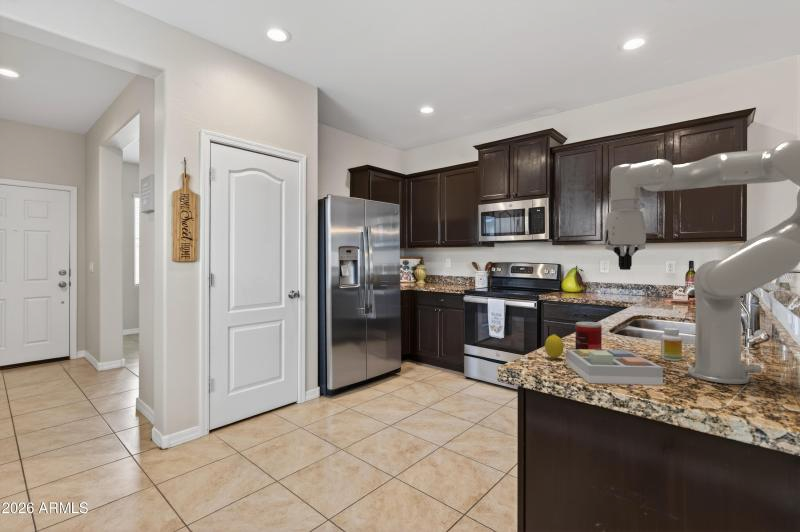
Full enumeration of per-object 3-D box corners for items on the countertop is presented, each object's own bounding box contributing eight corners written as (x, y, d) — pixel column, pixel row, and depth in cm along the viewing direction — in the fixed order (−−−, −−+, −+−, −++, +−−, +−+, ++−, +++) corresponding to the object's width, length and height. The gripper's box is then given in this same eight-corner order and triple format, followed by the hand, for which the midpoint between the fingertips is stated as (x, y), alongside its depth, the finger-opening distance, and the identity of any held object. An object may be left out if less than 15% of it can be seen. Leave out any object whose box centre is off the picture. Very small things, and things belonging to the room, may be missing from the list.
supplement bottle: (686, 361, 120) (686, 330, 119) (668, 361, 120) (668, 330, 119) (673, 356, 125) (674, 327, 125) (657, 356, 125) (657, 327, 125)
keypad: (628, 365, 115) (628, 350, 115) (662, 385, 97) (663, 367, 97) (566, 364, 117) (566, 349, 117) (588, 383, 99) (588, 365, 99)
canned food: (602, 355, 127) (602, 322, 127) (600, 361, 121) (600, 326, 120) (577, 352, 131) (577, 320, 131) (573, 357, 125) (573, 324, 125)
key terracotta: (638, 368, 105) (638, 357, 105) (647, 373, 100) (647, 361, 100) (620, 367, 105) (620, 356, 105) (628, 372, 101) (628, 361, 101)
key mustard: (594, 359, 114) (594, 349, 114) (600, 363, 109) (600, 353, 109) (577, 359, 114) (577, 349, 114) (583, 363, 110) (583, 353, 110)
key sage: (606, 361, 106) (606, 351, 105) (613, 366, 101) (613, 355, 101) (588, 361, 106) (588, 350, 106) (595, 366, 101) (595, 354, 101)
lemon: (565, 361, 120) (565, 336, 120) (546, 360, 121) (546, 335, 121) (561, 357, 126) (561, 332, 125) (543, 356, 127) (543, 332, 127)
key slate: (623, 360, 113) (623, 350, 113) (631, 364, 108) (631, 353, 108) (607, 359, 114) (607, 349, 113) (614, 364, 109) (614, 353, 109)
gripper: (645, 208, 116) (645, 269, 116) (593, 209, 117) (593, 269, 117) (659, 205, 108) (659, 269, 108) (603, 206, 110) (603, 270, 110)
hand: (625, 269), depth 113 cm, fingers closed
